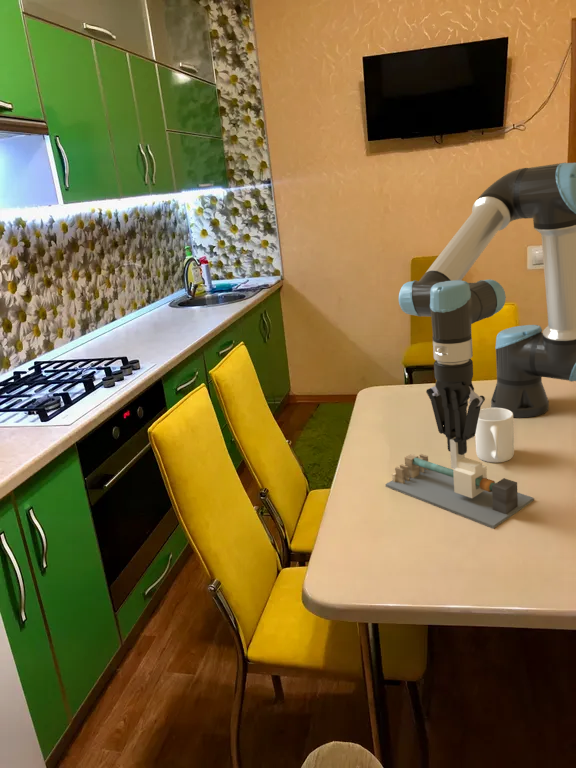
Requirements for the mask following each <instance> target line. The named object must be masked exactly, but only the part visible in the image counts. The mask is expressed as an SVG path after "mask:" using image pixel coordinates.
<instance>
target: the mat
mask: <svg viewBox="0 0 576 768" xmlns="http://www.w3.org/2000/svg"><path fill="white" fill-rule="evenodd" d="M419 474H420V475H418V476H416V477H414V478H410V477H409V481H406V480H405V483H403V484H402V483H400V482H397V481H396V482H393V479H391V480H390V481H389V482H387V483H385V487H386V488H389V489H391V490H394V491H397V492H399V493H401V494H405V496H409V497H412V498H415V499H416V500H420V501H421V502H425V503H428V504H430V505H432V506H434V507H437V508H439V509H443V510H445V511H447V512H450V513H452V514H455V515H458V516H461V517H462V518H466V519H468V520H470V521H473V522H475V523H478V524H480V525H484V526H485V527H488V528H491V529H493V530H494V529H495V528H496V527H497V526H499V525H500V524H502V523H504V522H505V521H506V520H508V519H509V518H510V517H512V516H513V515H515V514H516V513H518V512H519V511H520V510H522V509H523V508H525V507H526V506H527V505H529V504H531V503H532V502H533V501H534V500H535V497H534V496H530V495H527V494H524V493H521V492H518V491H517V498H518V507H516V508H515V509H513V510H512V511H511V512H509V513H508V514H503V513H501V512H498V511H495V510H493V499H492V492H488V491H483V492H481V493H480V494H478V495H477V496H475V497H474V498H470V497H467V496H464V495H461V494H458V493H456V492H454V478H453V477H450V476H447V475H444V474H441V473H438V472H435V471H432V470H425V469H424V472H423V473H422V472H419Z"/></svg>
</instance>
